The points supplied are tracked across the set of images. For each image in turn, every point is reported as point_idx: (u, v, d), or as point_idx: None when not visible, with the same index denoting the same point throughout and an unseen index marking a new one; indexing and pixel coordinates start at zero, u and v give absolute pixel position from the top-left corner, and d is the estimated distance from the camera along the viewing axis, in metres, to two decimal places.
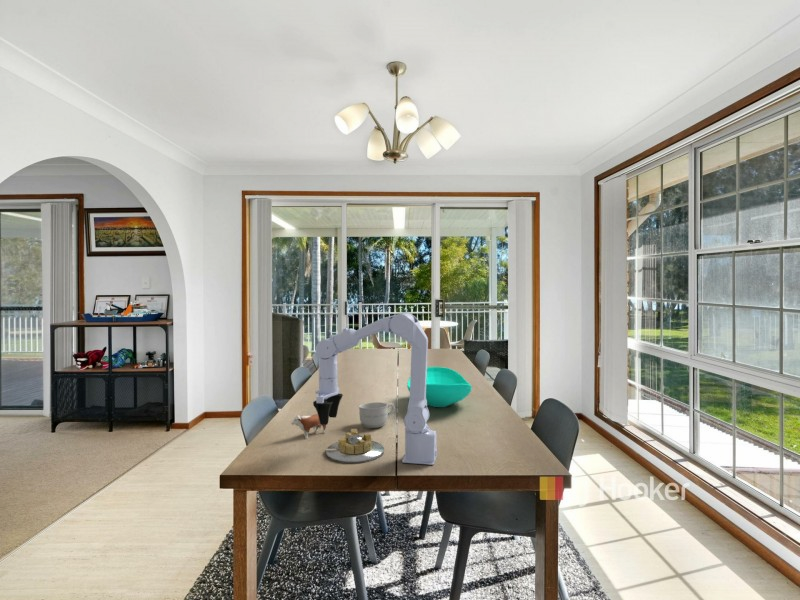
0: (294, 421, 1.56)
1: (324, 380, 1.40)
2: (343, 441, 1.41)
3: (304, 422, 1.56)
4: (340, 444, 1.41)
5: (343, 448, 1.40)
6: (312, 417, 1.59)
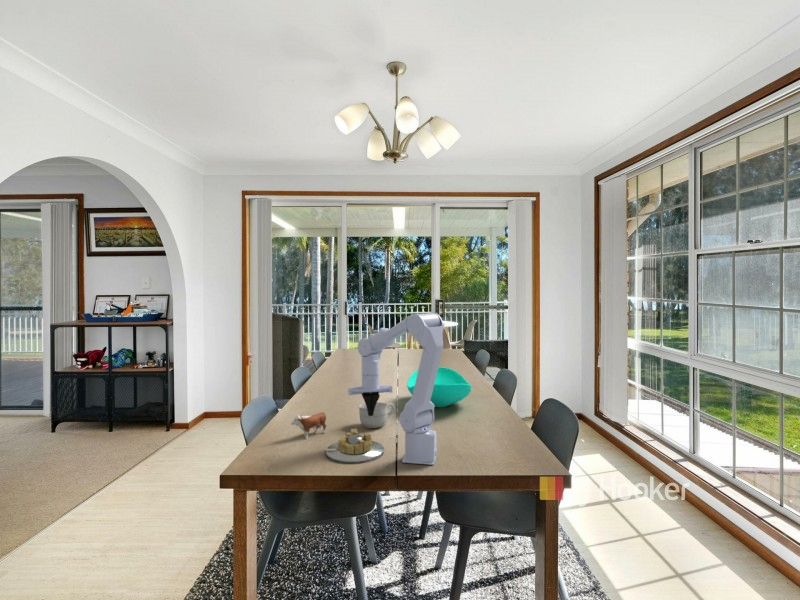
0: (294, 421, 1.56)
1: None
2: (343, 441, 1.41)
3: (304, 422, 1.56)
4: (340, 444, 1.41)
5: (343, 448, 1.40)
6: (312, 417, 1.59)
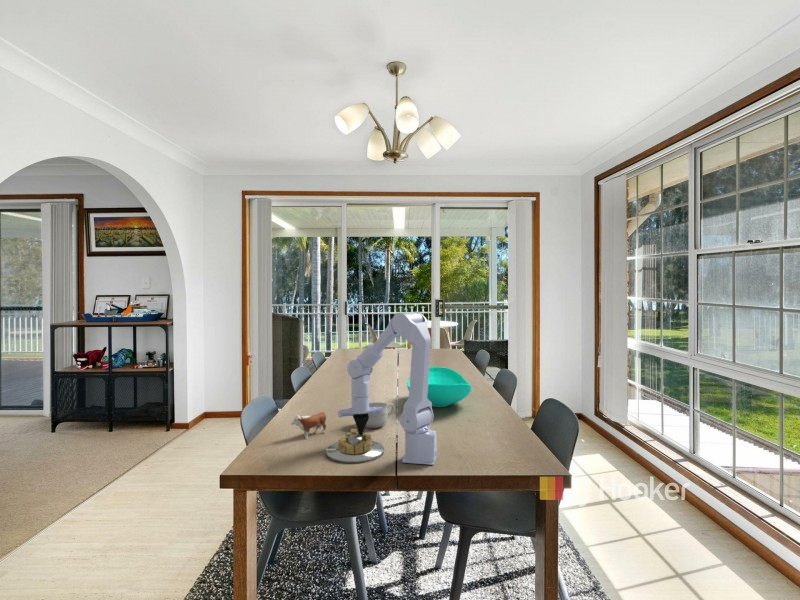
0: (294, 421, 1.56)
1: None
2: (343, 441, 1.41)
3: (304, 422, 1.56)
4: (340, 444, 1.41)
5: (343, 448, 1.40)
6: (312, 417, 1.59)
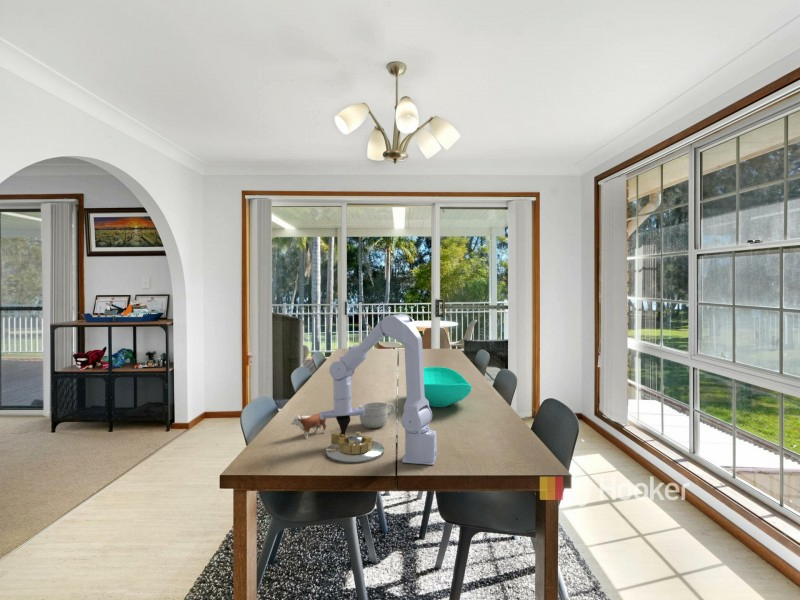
0: (294, 421, 1.56)
1: None
2: (353, 442, 1.40)
3: (304, 422, 1.56)
4: (352, 446, 1.39)
5: (356, 449, 1.39)
6: (312, 417, 1.59)
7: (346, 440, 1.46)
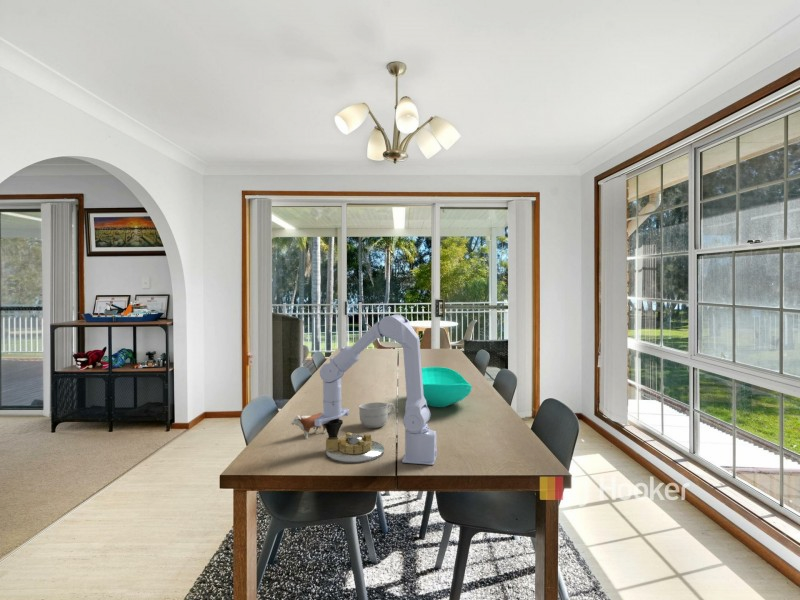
0: (294, 421, 1.56)
1: (326, 403, 1.43)
2: None
3: (304, 422, 1.56)
4: (363, 445, 1.40)
5: (367, 447, 1.41)
6: (312, 417, 1.59)
7: None
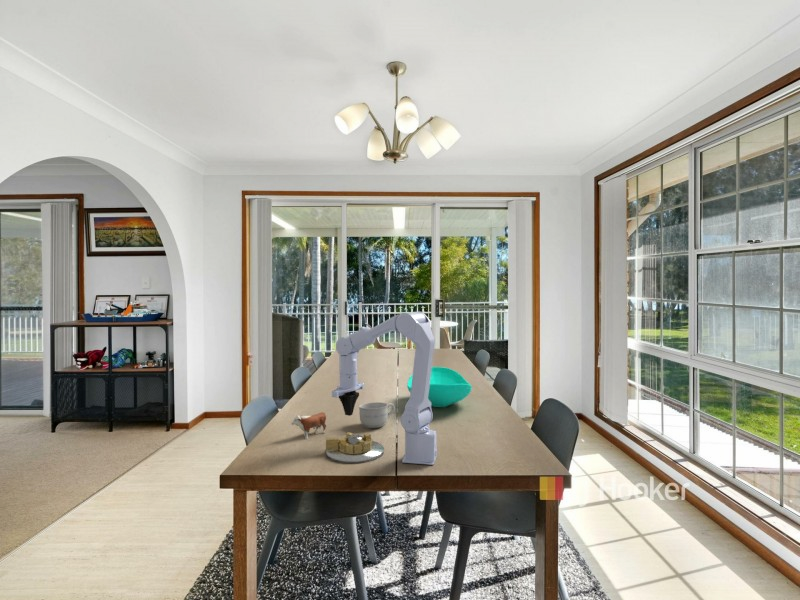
0: (294, 421, 1.56)
1: (342, 376, 1.48)
2: None
3: (304, 422, 1.56)
4: (363, 445, 1.40)
5: (367, 447, 1.41)
6: (312, 417, 1.59)
7: None
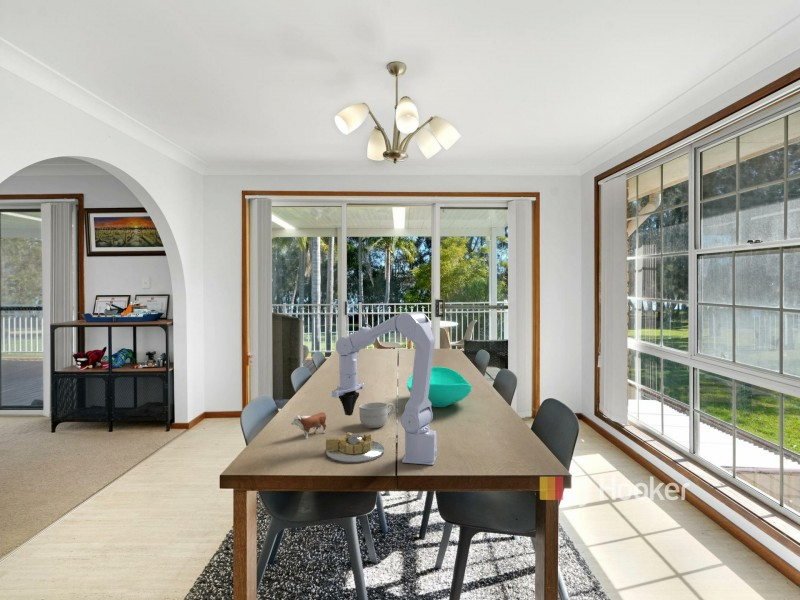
0: (294, 421, 1.56)
1: (342, 376, 1.48)
2: None
3: (304, 422, 1.56)
4: (363, 445, 1.40)
5: (367, 447, 1.41)
6: (312, 417, 1.59)
7: None
